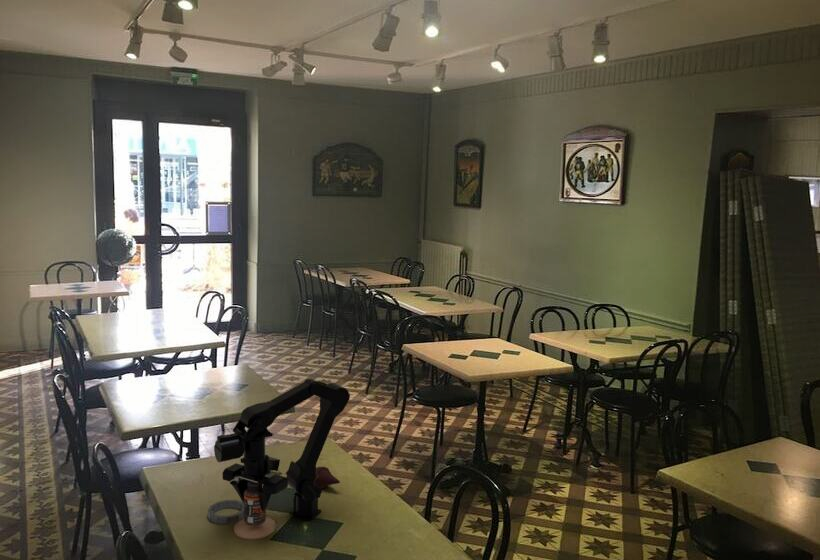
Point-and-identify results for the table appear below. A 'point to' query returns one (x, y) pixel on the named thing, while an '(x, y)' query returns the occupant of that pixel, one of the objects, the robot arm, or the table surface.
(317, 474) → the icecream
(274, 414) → the robot arm
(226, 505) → the cup collar
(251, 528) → the terracotta saucer
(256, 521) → the supplement bottle
